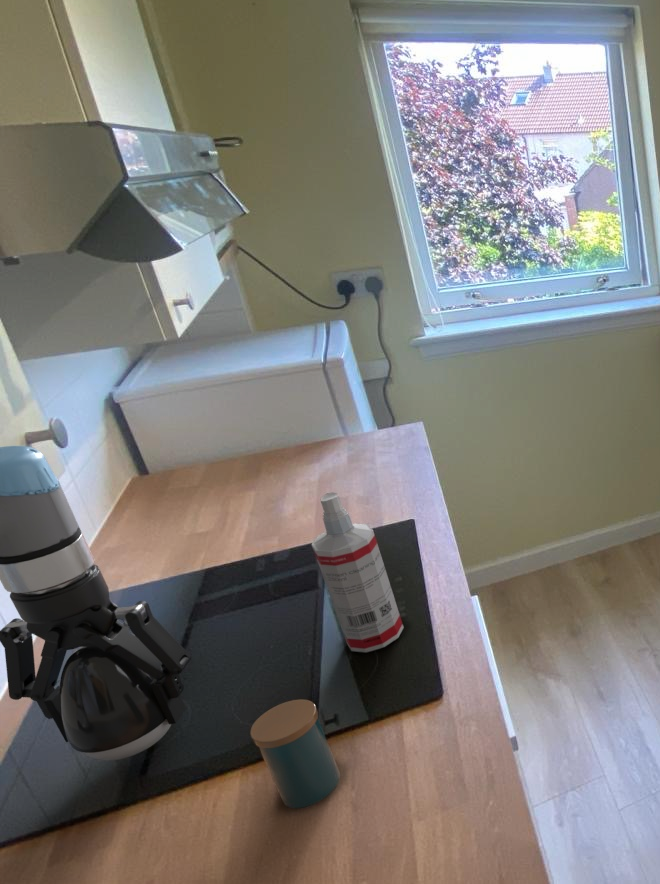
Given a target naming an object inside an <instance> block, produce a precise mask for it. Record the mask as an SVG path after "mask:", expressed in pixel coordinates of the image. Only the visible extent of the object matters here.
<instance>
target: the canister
mask: <svg viewBox="0 0 660 884" xmlns="http://www.w3.org/2000/svg"><path fill="white" fill-rule="evenodd" d="M249 735H250V738H251V740H252V742H253V744H254V745H255V746H256V747H257V748H258V750H259V752H260V754H261V757H262V759H263V761H264V763H265V766H266V768H267V770H268V772H269V775H270V776H271V778H272V781H273V783H274V785H275V787H276V790H277V792H278V793H279V796H280V798H281V800H282V803H283V804H284V806H285V807H287V808H290V809H302V808H306V807H309V806H313V805H315V804H316V803H319V802H320V801H322V800H324V799H325V798H327V796H329V795H330V794H331V793H332V792H333V791H334V790H335V789H336V788H337V786H338V784H339V782H340V780H341V772H340V769H339V766H338V763H337V762H336V760H335V759H336V758H335V757H334V754H333V752H332V749H331V746H330V744H329V742H328V739H327V736H326V734H325V732H324V729H323V727H322V724H321V722H320V719H319V711H318V709H317V706H316V704H315V703H314V702H313V701H312V700H308V699H305V698H304V699H303V698H300V699H292V700H289V701H285V702H282V703H279V704H278V705H275V706H273V707H272V708H270V709H268V710H266V711H264V713H262V714H261V715H260V716H259V717H258V718H257V719H256V720H255V721H254V723H253V724H252V726H251V728H250V731H249Z"/></svg>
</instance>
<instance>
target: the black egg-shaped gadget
mask: <svg viewBox="0 0 660 884" xmlns="http://www.w3.org/2000/svg"><path fill="white" fill-rule="evenodd" d="M113 635H114V632H113V631H112V632H111V633H110V634H109V636H108V637H107V638H109V639H110V638H111V637H112V636H113ZM59 680H60V681H59V686H60V710H61V717H62V722H63V726H64V730H65V734H66V737H67V739H68V741H69V742H68V744H69V745H70V747H71V748H72V750H75V751H76V752H79V753H81V754H83V755H84V756H87V757H88V758H90V759H92V760H97V761H106V762H107V761H108V762H109V761H110V762H111V761H119V760H122V759H127V758H129V757H133V756H135V755H138V754H140V753H142V752H144V751H146V750H147V749H149V748H151V747H152V746H154V745H155V744H156V743H158V742H159V741H160V740H161V739H162V738H163V737H164V736H165V735H166V734H167V732H168V731H169V730H170V728H171V726H172V724H169V723H168V721H167V719H166V717H165V715H164V713H163V711H162V709H161V707H160V705H159V702H158V700H157V698H156V696H155V694H154V692H153V690H152V688H151V686H150V684H151V682H152V681H153V680H154V678H153V677H152V676H150V675H148V674H147V673H145V672H144V671H142V670H140V669H139V668H137V667H136V666H134V665H133V664H131V663H129V662H128V661H126V660H125V659H123V658H122V657H120V656H118V655H117V654H115V653H114V652H112V651H110V650H108V651H104V650H102V649H100V648H99V647H97V646H92V647H78V648H77V649H76V650H75V651H73V653H72V654H70V655H69V656H68V658H67V659H66V662H65V663H64V666H63V668H62V671H61V674H60V679H59Z"/></svg>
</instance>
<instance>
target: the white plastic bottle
mask: <svg viewBox="0 0 660 884" xmlns="http://www.w3.org/2000/svg"><path fill="white" fill-rule="evenodd" d="M319 501H320V504H321V507H322V510H323V512H322V517H323V518H322V520H323V524H324V528H325V532H323V533H320V534H318V535H317V537H316V538H315V539H314V540H313V541H312V543H311V548H312V550H313V553H314V555H315V556H314V557H315V559H316V561H317V564H318V566H319V569H320V572H321V575H322V578H323V580H324V583H325V587H326V589H327V592H328V595H329V597H330V600H331V603H332V607H333V609H334V611H335V614H336V617H337V620H338V623H339V625H340V629H341V632H342V635H343V636H344V639H345V643H346V645H347V646H348V648H349V650H350V651H351V652H357V653H369V652H373V651H377V650H380V649H382V648H386V647H387V646H388V645H390V644H391V643H393V642H394V641H397V639H399V637H400V635H401V634H402V632H403V630H404V628H405V627H404V624H403V621H402V618H401V614H400V611H399V608H398V604H397V602H396V598H395V596H394V592H393V589H392V586H391V583H390V580H389V576H388V573H387V570H386V567H385V564H384V561H383V557H382V554H381V552H380V547H379V545H378V541H377V538H376V535H375V532H374V529H373V528H372V527H371V526H370V525H369V524H368V523H357V522H352V519H351V516H350V514H349V512H348V511H347V509H346V508H345V507H344V506H343V504H342V501H341V498H340V495H339V494H338V493H337V492H333V491H332V492H327V493H325V494H324V495H322V496H321V498H320V499H319Z"/></svg>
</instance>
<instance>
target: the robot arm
mask: <svg viewBox="0 0 660 884" xmlns="http://www.w3.org/2000/svg"><path fill="white" fill-rule="evenodd" d="M0 583H1V584H2V586H3V589H4V590H5V591H6V592H9V598H10V600H11V602H12V604H13V606H14V607H15V609H16V612H17V613H18V615H19V617H20V618H18V617H17V618H13V619H12V620H11V621H9V622H8V623H7V624H6V625H5V626H3V627H2V628H1V629H0V643H1V645H2V647H3V648H4V658H5V667H6V677H7V688H8V697H9V698H10V699H11V700H15V701H19V700H21V699H22V698H29V699H30V700H32V701H34V702H36V703H37V705H38V707H39V708H40V710H41V713H42V714H43V716H44V717H45V718H46V719H47V720H53V721H54V723H55V725H56V727H57V728H58V730H59V732H60V734H61V736H62V738H63V740H64V741H65V743H69V741H68V739H67V737H66V734H65V730H64V726H63V722H62V717H61V710H60V685H58V683H60V680H61V679H59V676H60V673H61V669H62V667H63V663H64V661H65V657H66V654H67V651H70V650H75V649H79V648H81V647H92V646H97V647H99V648H100V649H102V650H104V651H108V650H110V651H112V652H114V653H115V654H117V655H118V656H120V657H122V658H123V659H125V660H126V661H128V662H129V663H131V664H133V665H134V666H136V667H137V668H139V669H140V670H142V671H144V672H145V673H147V674H148V675H150V676H152V677H153V678H154V680H153V681H152V682H151V684H150V686H151V688H152V690H153V692H154V694H155V696H156V698H157V700H158V702H159V705H160V707H161V709H162V711H163V713H164V715H165V717H166V719H167V721H168V723H169V724H171V725H173V724H174V725H175V724H177V723H178V722H179V719H180V718H181V717H182V715H183V714H184V712H185V711H186V710H187V705H186V703H185V702H184V699H183V697H182V695H181V693H183V691H184V689H185V687H184V684H183V681H182V679H181V677H180V674H181V673H183V670H184V669H185V668H186V667H187V665H188V664H189V663H190V661H191V660H192V655H191V654H189V652H188V651H187V650H186V649H185V648H184V646H182V645H181V644H180V642H178V640H177V639H175V637H173V635H171V633H170V632H169V631H168V630H167V629H166V628H165V627H164V626H163V625H162V624H161V623H160V621H158V619H156V617H155V616H154V615H153V613H152V610H151V608H150V604H149V603H148V602H147V601H145V600H139V601H136V603H135V604H134V605H129V606H120V607H119V606H118V605H117V604H116V603H114V602H113V600H111V597H110V590H109V586H108V583H107V581H106V580H105V578H104V575H103V572H102V571H101V569H100V567H99V566H98V565H97V564H95V557H94V555H93V553H92V551H91V549H90V547H89V545H88V542H87V540H86V538H85V536H84V534H83V532H82V530H81V527H80V526H79V524H78V521H77V518H76V516H75V514H74V512H73V510H72V508H71V506H70V503H69V501H68V499H67V496H66V494H65V492H64V490H63V487H62V485H61V482H60V481H59V478H58V477H57V476H56V475H55V473H54V471H53V470H52V468H51V466H50V464H49V463H48V461H47V458H46V457H45V455H44V454H43V453H42V452H41V451H40V450H38V449H37V448H35V447H31V446H26V445H6V446H0ZM120 620H121V621H123V622H121V621H120ZM112 631H113V632H114V635H113V636H112V637H111V638H110V639H109V638H107V637H108V636H109V634H110V633H111V632H112ZM33 635H34V636H36V637H38V638H40V639H42V640H43V641H44V643H43V647H42V649H41V652H40V657H41V659H40V663H39V666H38V669H37V672H36V665H35V654H34V641H33ZM55 686H56V688H55Z"/></svg>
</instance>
